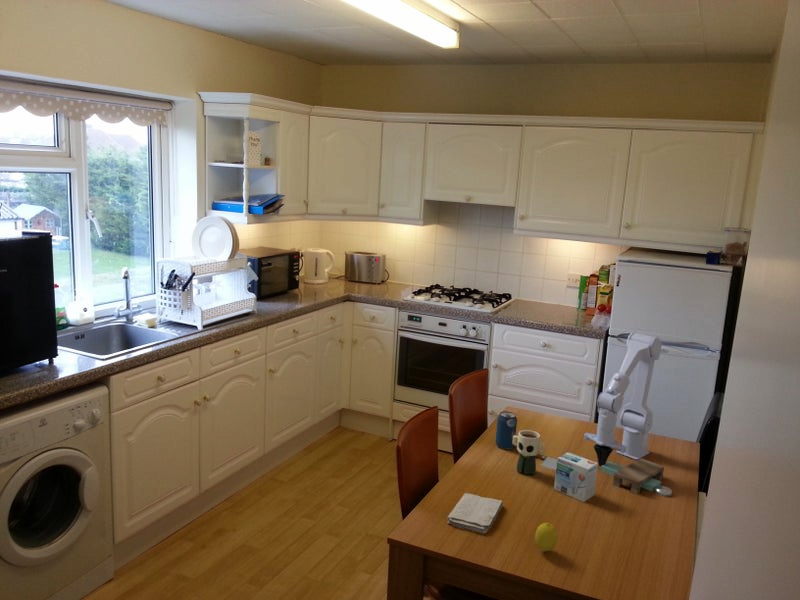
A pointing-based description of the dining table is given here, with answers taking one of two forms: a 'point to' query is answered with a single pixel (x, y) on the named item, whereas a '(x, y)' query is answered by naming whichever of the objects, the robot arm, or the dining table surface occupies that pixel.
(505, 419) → the soda can
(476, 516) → the washcloth
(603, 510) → the dining table surface
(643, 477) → the shelf
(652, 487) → the slat
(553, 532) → the lemon
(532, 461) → the character mug
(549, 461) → the kitchen cleaver
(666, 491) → the steel disc
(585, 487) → the light bulb box
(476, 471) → the dining table surface
